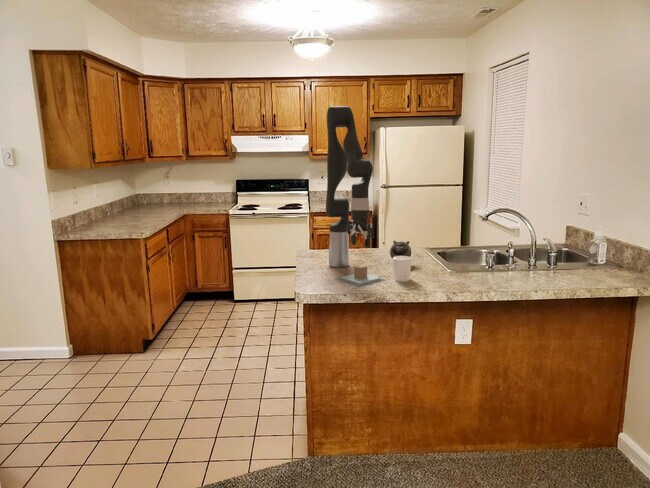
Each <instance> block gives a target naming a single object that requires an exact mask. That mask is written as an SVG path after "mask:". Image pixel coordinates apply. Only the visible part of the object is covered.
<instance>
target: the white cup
mask: <svg viewBox="0 0 650 488" xmlns="http://www.w3.org/2000/svg"><path fill="white" fill-rule="evenodd" d="M411 268H412V257H411V256H410V257H408V256H395V257H393V259H392V269H393V270H392V271H393V280H394V281H396V282H409V281H410V279H411V272H412V271H411V270H412V269H411Z"/></svg>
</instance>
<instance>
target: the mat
mask: <svg viewBox="0 0 650 488" xmlns="http://www.w3.org/2000/svg"><path fill="white" fill-rule="evenodd" d="M379 278H380V280H379V281H375V282H371V283H367V284H363V285H357V284H354V283H351V282H348V281H345V280H342V279H341V277H338V278H335V281H339V282H341V283H345V284H348V285H351V286H354V287H355V288H362V287H366V286H370V285H374V284H378V283H382V282H385V281H387V279H385V278H381V277H379Z"/></svg>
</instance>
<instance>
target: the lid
mask: <svg viewBox="0 0 650 488" xmlns="http://www.w3.org/2000/svg"><path fill="white" fill-rule="evenodd" d="M340 278H341V279H342V280H345V281H348V282H351V283H354V284H357V285H363V284H367V283H371V282H375V281H379V280H380V278H381V277H380V276H376V275H372V274H369V273H368V266H367V265H364V264H359V265H354V266H353V274H348V275H345V276H341V277H340Z"/></svg>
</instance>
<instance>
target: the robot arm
mask: <svg viewBox="0 0 650 488" xmlns="http://www.w3.org/2000/svg"><path fill="white" fill-rule="evenodd" d="M326 128H327V159H326V160H327V163H326V164H327V167H326V172H327V174H326V175H327V184H326V186H327V187H326V196H325V197H326V201H325V212H326V216H327V217H329V218H339V220H337V221H336V222H334V223H331V224H330V225H329V227H328V229H329V245H328V265H329V266H330V267H333V268H345V267H349V266H350V261H349V259H350V250H349V249H350V246H349V245H350V244H349V242H350V243H351V245H352V246H354V245H357V234H358V233H361V235H362V236H363V237H364V248H365V249H369V248H370V247H371V239H373V238H375V234H374V233H375V232H374V231H375V230H374V223H373V222H372V223H370V222H368V221H369V219H370V200H369V199H370V198H369V188H370V182H371V179H372V175H373V170H374V169H373V168H374V167H373V163H372V162H371V160H369V159H364V160H363V157H364V152H363V149H362V146H361V144H360V141H359V138H358V135H357V129H356V123H355V116H354V113H353V110H352V108H351V107H350V106H348V105H334V106H333V105H330V106H329V107H328V109H327V112H326ZM337 128H346V129H347V132H346V135H344V139H343V143H342V144H341V143H340V140H339V138H338V135H337ZM346 174H348V176H349V177H350V178H361V180H360V181H358V182H356V183H353V184H352V185H351V203H350V201H349V199H348V198H347V197H335V194H336V191H337V188H338V186H339V184H341V182H342V180H343V179H344V178H345V175H346ZM350 204H351V205H350ZM350 209H351V211H350ZM350 212H351V213H350ZM350 216H351V220H349V219H350V218H349V217H350ZM349 236H350V239H349ZM349 240H351V241H349Z"/></svg>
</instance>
